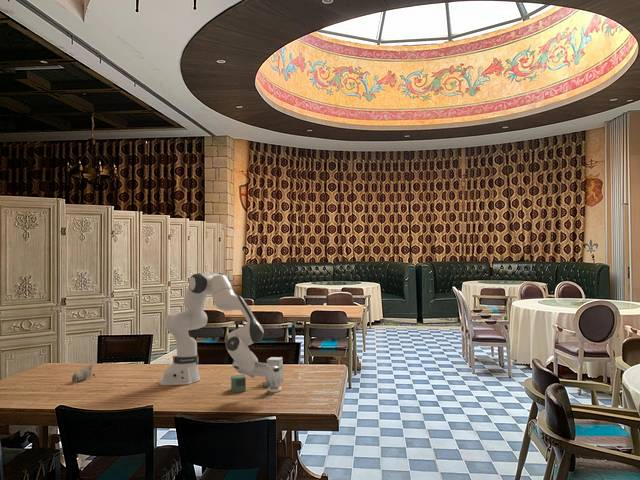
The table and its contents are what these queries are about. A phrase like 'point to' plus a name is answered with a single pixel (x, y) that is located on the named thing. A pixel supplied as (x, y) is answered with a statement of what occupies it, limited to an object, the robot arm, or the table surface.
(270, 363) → the supplement box
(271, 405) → the table surface
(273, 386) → the grey-lidded jar
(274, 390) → the cream dome cap
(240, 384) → the block
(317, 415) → the table surface
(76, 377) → the decorative bird
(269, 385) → the disc
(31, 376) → the table surface
